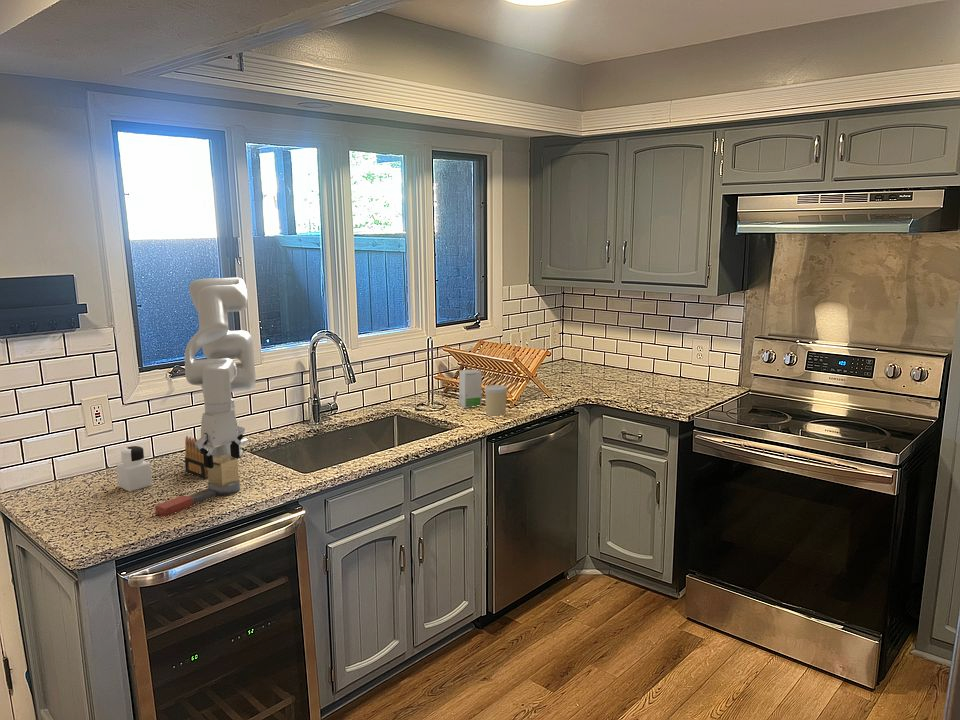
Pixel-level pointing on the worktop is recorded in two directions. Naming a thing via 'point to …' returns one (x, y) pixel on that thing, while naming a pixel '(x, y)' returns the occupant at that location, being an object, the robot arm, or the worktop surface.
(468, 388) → the skincare box
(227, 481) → the wooden block
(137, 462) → the medicine bottle
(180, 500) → the ratchet
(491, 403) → the coffee cup
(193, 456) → the ammunition clip
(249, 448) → the worktop surface
